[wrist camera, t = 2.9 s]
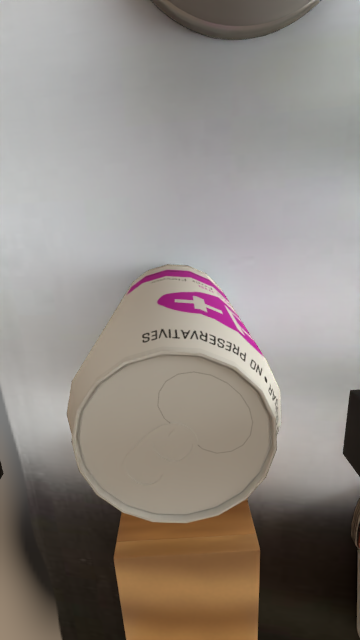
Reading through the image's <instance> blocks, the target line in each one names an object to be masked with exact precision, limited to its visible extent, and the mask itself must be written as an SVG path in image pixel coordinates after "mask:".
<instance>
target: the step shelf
mask: <svg viewBox="0 0 360 640" xmlns="http://www.w3.org/2000/svg"><path fill="white" fill-rule="evenodd" d="M247 498H248V497H247ZM114 564H115V570H116V577H117V583H118V590H119V596H120V602H121V609H122V615H123V622H124V628H125V634H126V640H257V637H258V605H259V572H260V547H259V543H258V539H257V536H256V532H255V528H254V524H253V520H252V516H251V512H250V509H249V505H248V501H247V499H246V500H244V501H242V502H241V503H239V504H237V505H235V506H234V507H232V508H230V509H228V510H227V511H225V512H223V513H221V514H220V515H218V516H214V517H210V518H206V519H202V520H197V521H193V522H189V523H164V522H151V521H148V520H145V519H142V518H139V517H135V516H132V515H129V514H126V513H123V512H122V513H121V519H120V524H119V530H118V536H117V542H116V547H115V553H114Z"/></svg>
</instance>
